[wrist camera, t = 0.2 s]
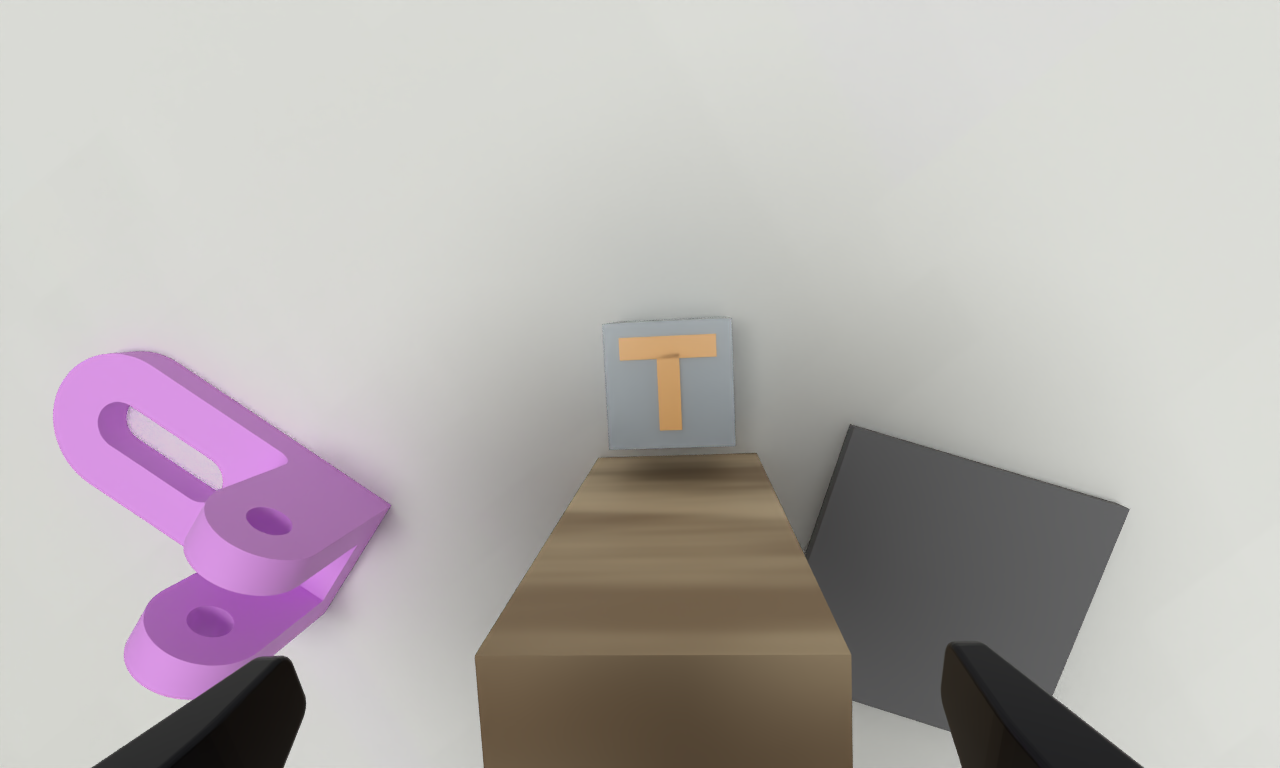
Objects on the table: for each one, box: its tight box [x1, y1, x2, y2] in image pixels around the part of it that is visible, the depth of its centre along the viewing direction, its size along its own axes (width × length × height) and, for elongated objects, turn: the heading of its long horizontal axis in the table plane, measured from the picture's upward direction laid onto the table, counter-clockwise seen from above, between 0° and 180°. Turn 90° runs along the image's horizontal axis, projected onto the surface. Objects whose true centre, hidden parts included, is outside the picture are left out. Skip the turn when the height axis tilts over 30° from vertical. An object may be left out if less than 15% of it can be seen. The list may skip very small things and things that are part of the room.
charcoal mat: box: [805, 424, 1129, 732], centre depth 23 cm, size 10×10×1 cm
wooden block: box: [475, 453, 853, 768], centre depth 17 cm, size 4×6×14 cm, turn 92°
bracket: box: [53, 351, 391, 700], centre depth 22 cm, size 13×6×7 cm, turn 56°
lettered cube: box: [602, 317, 736, 450], centre depth 22 cm, size 4×4×4 cm
